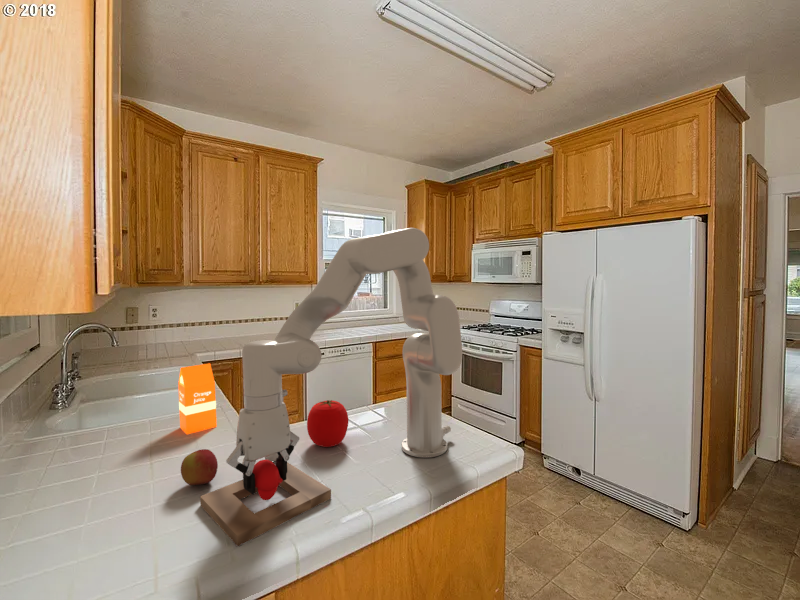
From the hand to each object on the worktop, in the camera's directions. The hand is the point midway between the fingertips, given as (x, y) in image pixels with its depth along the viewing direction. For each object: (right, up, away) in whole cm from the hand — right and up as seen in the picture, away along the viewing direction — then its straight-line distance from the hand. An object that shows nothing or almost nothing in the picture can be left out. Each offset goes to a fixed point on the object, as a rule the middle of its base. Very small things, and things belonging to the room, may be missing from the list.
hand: (266, 483), depth 81 cm
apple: (-18, -4, +8) cm, 20 cm away
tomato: (+8, -2, +29) cm, 30 cm away
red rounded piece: (0, -2, 0) cm, 2 cm away
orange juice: (-36, -2, +42) cm, 55 cm away
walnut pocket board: (0, -4, 0) cm, 4 cm away
